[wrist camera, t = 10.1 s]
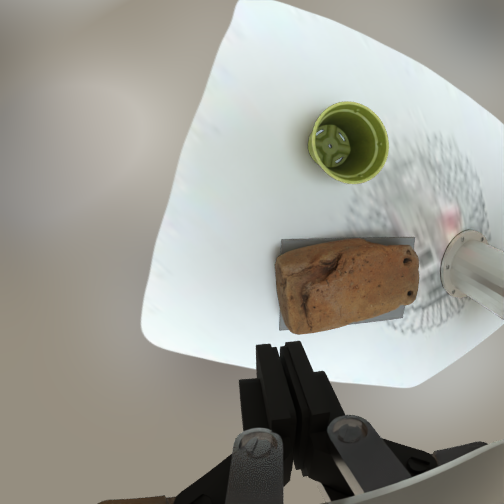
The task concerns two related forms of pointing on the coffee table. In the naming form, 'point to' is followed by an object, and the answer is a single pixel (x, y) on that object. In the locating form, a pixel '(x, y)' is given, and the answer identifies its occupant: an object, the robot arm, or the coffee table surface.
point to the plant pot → (349, 142)
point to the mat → (299, 243)
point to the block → (343, 283)
